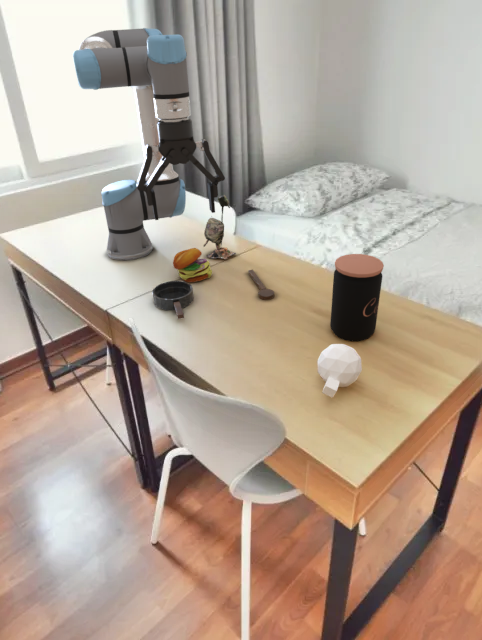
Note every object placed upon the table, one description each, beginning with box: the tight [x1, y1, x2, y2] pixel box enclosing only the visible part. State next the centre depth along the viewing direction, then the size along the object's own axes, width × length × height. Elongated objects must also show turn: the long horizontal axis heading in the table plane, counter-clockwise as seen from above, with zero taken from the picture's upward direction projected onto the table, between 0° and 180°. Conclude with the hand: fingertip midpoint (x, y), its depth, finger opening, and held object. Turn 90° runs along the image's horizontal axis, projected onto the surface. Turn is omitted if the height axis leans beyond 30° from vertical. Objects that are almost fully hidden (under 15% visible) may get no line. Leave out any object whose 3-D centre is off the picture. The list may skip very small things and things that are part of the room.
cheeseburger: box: [172, 247, 213, 283], centre depth 139 cm, size 10×11×10 cm
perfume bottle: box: [316, 343, 363, 398], centre depth 93 cm, size 9×9×12 cm
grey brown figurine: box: [203, 194, 237, 260], centre depth 149 cm, size 8×11×20 cm
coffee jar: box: [329, 253, 385, 343], centre depth 107 cm, size 11×11×18 cm
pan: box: [151, 280, 195, 311], centre depth 128 cm, size 11×11×4 cm
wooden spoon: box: [248, 269, 275, 301], centre depth 134 cm, size 17×4×1 cm, turn 16°
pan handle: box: [173, 301, 185, 320], centre depth 120 cm, size 7×2×3 cm, turn 16°
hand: (184, 214), depth 111 cm, fingers open, 13 cm apart
